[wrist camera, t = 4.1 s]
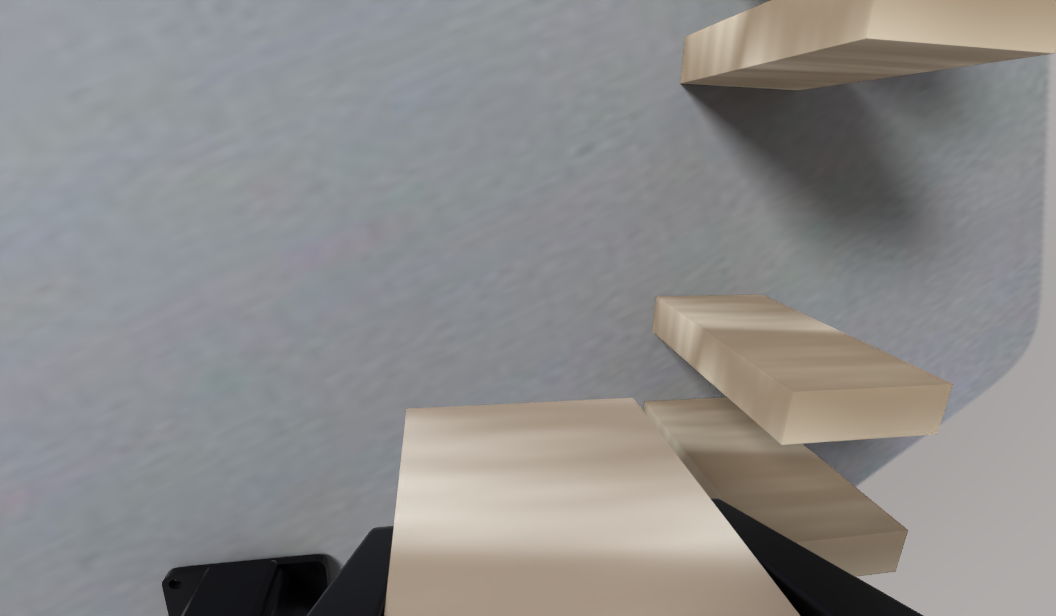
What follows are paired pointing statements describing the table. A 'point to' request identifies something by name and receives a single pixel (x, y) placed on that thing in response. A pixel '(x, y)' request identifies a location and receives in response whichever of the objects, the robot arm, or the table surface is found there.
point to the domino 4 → (863, 40)
